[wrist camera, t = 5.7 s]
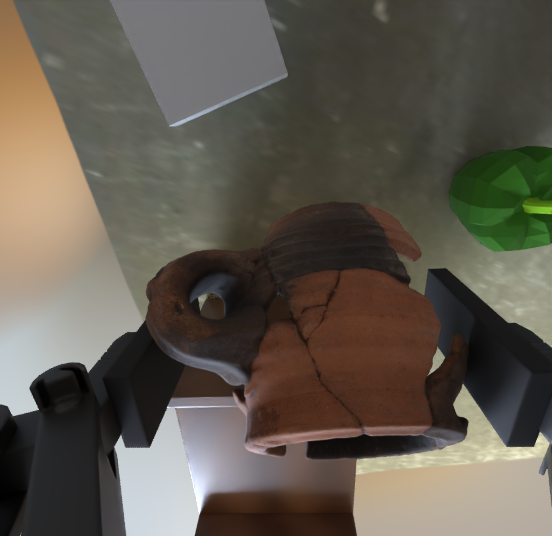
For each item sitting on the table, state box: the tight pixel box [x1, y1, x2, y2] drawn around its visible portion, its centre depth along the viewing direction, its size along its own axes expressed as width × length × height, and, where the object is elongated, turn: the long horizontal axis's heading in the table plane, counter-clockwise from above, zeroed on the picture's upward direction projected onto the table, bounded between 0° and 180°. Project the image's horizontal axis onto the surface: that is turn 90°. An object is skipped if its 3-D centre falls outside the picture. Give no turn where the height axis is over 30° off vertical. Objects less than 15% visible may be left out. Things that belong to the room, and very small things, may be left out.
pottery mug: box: [146, 202, 469, 460], centre depth 13 cm, size 12×10×8 cm
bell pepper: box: [449, 146, 552, 251], centre depth 27 cm, size 8×8×10 cm
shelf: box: [167, 296, 357, 536], centre depth 33 cm, size 15×18×15 cm
